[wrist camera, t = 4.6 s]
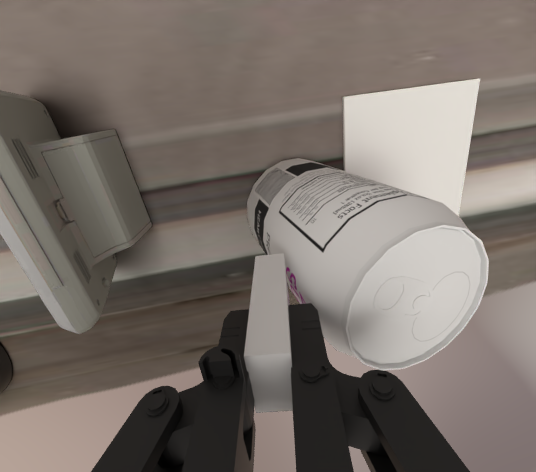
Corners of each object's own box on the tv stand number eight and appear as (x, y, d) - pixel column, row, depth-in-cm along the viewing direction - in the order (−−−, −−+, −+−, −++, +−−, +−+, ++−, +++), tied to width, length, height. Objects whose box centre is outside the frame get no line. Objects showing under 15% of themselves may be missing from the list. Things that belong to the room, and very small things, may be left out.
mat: (345, 271, 30) (346, 274, 29) (342, 96, 23) (344, 96, 22) (447, 261, 29) (451, 264, 29) (474, 79, 22) (479, 78, 22)
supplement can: (348, 176, 26) (531, 240, 13) (310, 258, 28) (434, 386, 15) (267, 141, 23) (400, 177, 10) (230, 236, 25) (298, 374, 12)
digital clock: (15, 87, 23) (-169, 78, 13) (130, 88, 23) (28, 80, 13) (71, 266, 30) (-24, 346, 20) (160, 267, 30) (107, 348, 20)
